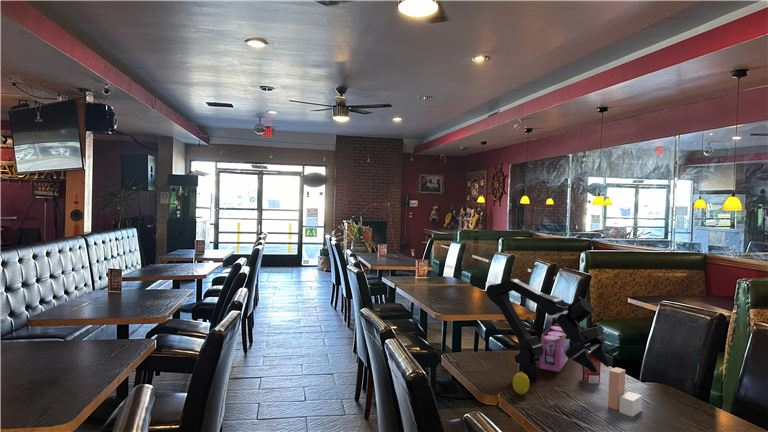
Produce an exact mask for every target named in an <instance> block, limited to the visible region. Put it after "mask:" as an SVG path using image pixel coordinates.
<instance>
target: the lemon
mask: <svg viewBox="0 0 768 432" xmlns="http://www.w3.org/2000/svg"><path fill="white" fill-rule="evenodd" d="M512 387H513V390H514V391H515V392H516V393H517V394H519V396H522V395H524V394H526V393H527V392H528V391H529V389H530V381H529V379H528V377H527V375H526V374H524V373H523V372H520V373H518V372H516V374H515V375H514V376H513V378H512Z"/></svg>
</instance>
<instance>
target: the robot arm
mask: <svg viewBox="0 0 768 432" xmlns="http://www.w3.org/2000/svg"><path fill="white" fill-rule="evenodd" d="M510 292H515V293H516V294H519V296H522V297H523V298H526V299H527V300H530V301H531V302H532V303H535V304H536V305H537V306H538V307H539V308H540V310H542V311H543V312H544V313H545V314H547V315H549V316H554V317H552V318H551V320H552V321H551V325H552V326H554V325H559V326H560V327H561V329H562V330H563V331H564V333H565V334H566V335H567V336H566V337H565V338H566V339H567V340H568V339H570V342H571V343H572V345H571V346H569V349H567V350H566V352H565V355H566V356H567V358H568V360H571V361H574V362H575V363H577V364H579V365H580V366H581V365H583V366H584V367H586V368H588V369H589V370H591V371H592V372H594V373H596V372H597V369H596V367H595V366H594V364H593V362H592V361H591V359H590V358H589V356H588V350H589V351H591V352H590V354H591V355H593V356H594V357H595V358H596V359H598V360H599V361H600V362H601V364H603V366H605V367H606V368H608V367H610V363H609V360H608V358H607V355H606V352H605V345H606V341H607V340H606V339H605V338H604V335H605V333H604V331H605V328H604V327H603V326H602V325H601V324H600V323H595V324H594V323H593V324H592V325H591V327H590V328H586V326H584V325H582V326H581V325H580V324H579V323H578V322H580V323H583V321H585V320H586V319H587V318H589V317H590V316H591V315H592V314H593V313H594V312H595V308H594V307H593V305H592V304H591V303H590V302H588V301H587V300H586V299H583V298H582V296H578V297H577V298H576V299H574V301H572V302H571V303H569V302H566V301H565V300H564V299H563V298H561V297H559V296H556V295H550V294H546V293H543V292H541V291H539V289H536V288H534V287H532V286H530V285H528V284H527V283H524V282H522V281H520V280H519V279H518V278H508V279H507V280H506V281H502V282H500V283H494V284H493V283H492V284H489V285H488V286H487V287H486V291H485V294H486V296H487V298H488V300H490V301H491V302H492V303H493V305H495V306H497V307H498V308H499V310H500V311H501V313H502V315H503V317H504V318H505V320H506V322H507V323H508V325H509V327H510V329H511V330H512V332H513V334H514V336H515V337H516V339H517V345H518V350H519V353H517V354H516V355H515V356H514V362H515V363H516V364H517V373H520V372H523V373H524V374H526V375H527V377H528V379H529V382H537V381H538V380H537V379H538V371H539V370H538V369H539V368H538V366H537V362H540V357H542V355H543V352H544V350H543V347H542V346H543V345H542V344H541V340H540V338H539V337H538V336H537V335H535V336H533V335H531V334H530V333H529V331H528V329H527V328H526V326H525V325H524V322H523V321H522V320H521V318H520V315H518V313H517V310H516V309H515V308H514V305H513V304H512V302H511V300H510V299H511V298H510V296H511V295H510ZM565 312H566V313H565ZM556 315H558V316H557V317H556ZM586 349H587V350H586Z"/></svg>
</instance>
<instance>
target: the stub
mask: <svg viewBox="0 0 768 432" xmlns="http://www.w3.org/2000/svg"><path fill="white" fill-rule="evenodd" d="M625 386H626V369H623V368H620V367H618V366H617V367H613V368H612V369H609V374H608V394H607V395H608V396H607V397H608V398H607V400H608V401H607V407H608V408H610V409H613V410H616V411H619V407H620V396H622V395H624V394H625V393H626V392H625V391H626V389H625Z"/></svg>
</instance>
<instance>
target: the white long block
mask: <svg viewBox="0 0 768 432" xmlns="http://www.w3.org/2000/svg"><path fill="white" fill-rule="evenodd" d="M642 404H643V395H642V394H639V393H636V392H632V391H628V392H625V393H624V395H622V396H620V407H619V409H618V410H617V412H619V413H621V414H624V415H626V416H628V417H634V416H636V415H637V414H639V413H640V412H641V411H642V408H643V407H642Z"/></svg>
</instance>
